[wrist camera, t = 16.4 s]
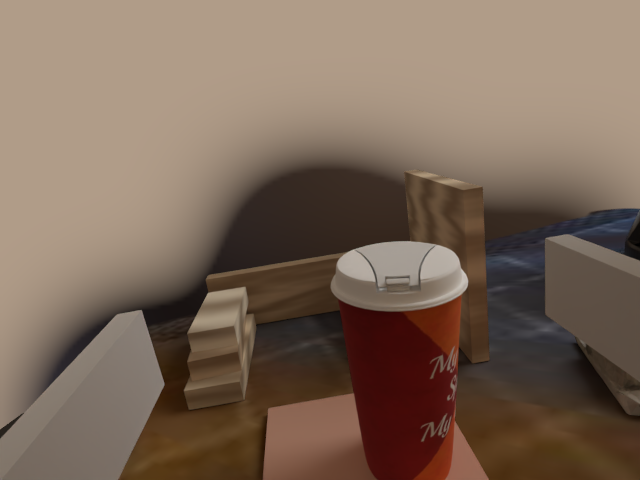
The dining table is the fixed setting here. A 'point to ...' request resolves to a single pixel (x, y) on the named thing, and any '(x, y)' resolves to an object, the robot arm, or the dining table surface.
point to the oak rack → (425, 226)
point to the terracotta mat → (335, 444)
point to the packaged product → (615, 379)
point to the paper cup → (403, 353)
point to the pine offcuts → (220, 349)
